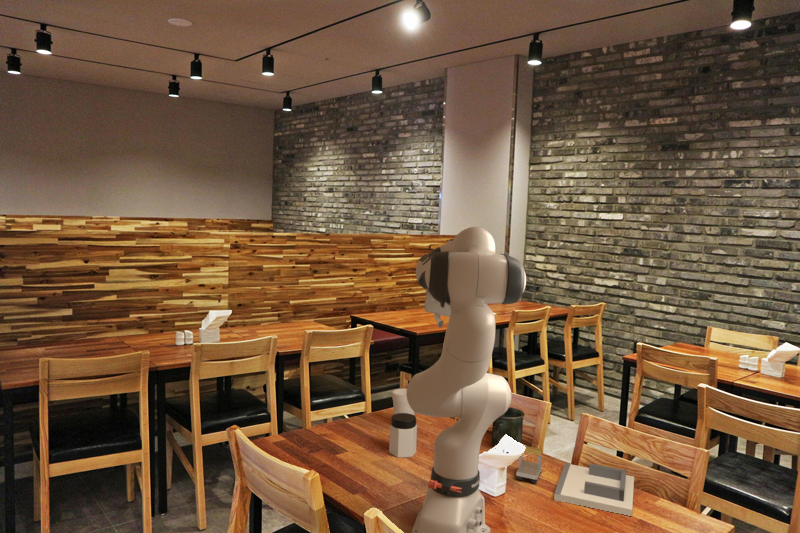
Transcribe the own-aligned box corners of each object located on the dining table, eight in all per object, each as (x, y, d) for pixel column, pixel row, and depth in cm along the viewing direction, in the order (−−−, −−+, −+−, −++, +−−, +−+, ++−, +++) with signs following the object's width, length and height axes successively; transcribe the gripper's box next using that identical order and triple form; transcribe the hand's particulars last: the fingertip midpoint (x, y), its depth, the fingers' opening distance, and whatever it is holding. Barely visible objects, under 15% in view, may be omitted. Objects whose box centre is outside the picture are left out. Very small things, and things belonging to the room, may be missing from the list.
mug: (528, 445, 196) (529, 411, 196) (509, 459, 185) (511, 423, 184) (499, 437, 203) (501, 404, 202) (479, 450, 191) (481, 415, 190)
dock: (631, 517, 150) (633, 498, 150) (554, 500, 158) (555, 482, 158) (633, 483, 170) (634, 466, 170) (564, 469, 178) (565, 453, 178)
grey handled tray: (537, 485, 166) (538, 455, 166) (515, 481, 169) (516, 451, 168) (542, 473, 175) (544, 444, 174) (521, 469, 177) (522, 440, 176)
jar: (421, 454, 186) (422, 418, 185) (401, 460, 181) (403, 423, 180) (403, 445, 193) (404, 410, 192) (384, 451, 188) (385, 415, 187)
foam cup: (416, 431, 206) (418, 396, 205) (391, 431, 206) (392, 395, 205) (415, 422, 216) (417, 388, 215) (391, 421, 215) (392, 388, 214)
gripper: (422, 285, 178) (419, 326, 182) (483, 298, 169) (480, 341, 173) (430, 279, 183) (428, 319, 188) (491, 292, 174) (487, 333, 179)
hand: (453, 330), depth 180 cm, fingers open, 8 cm apart
